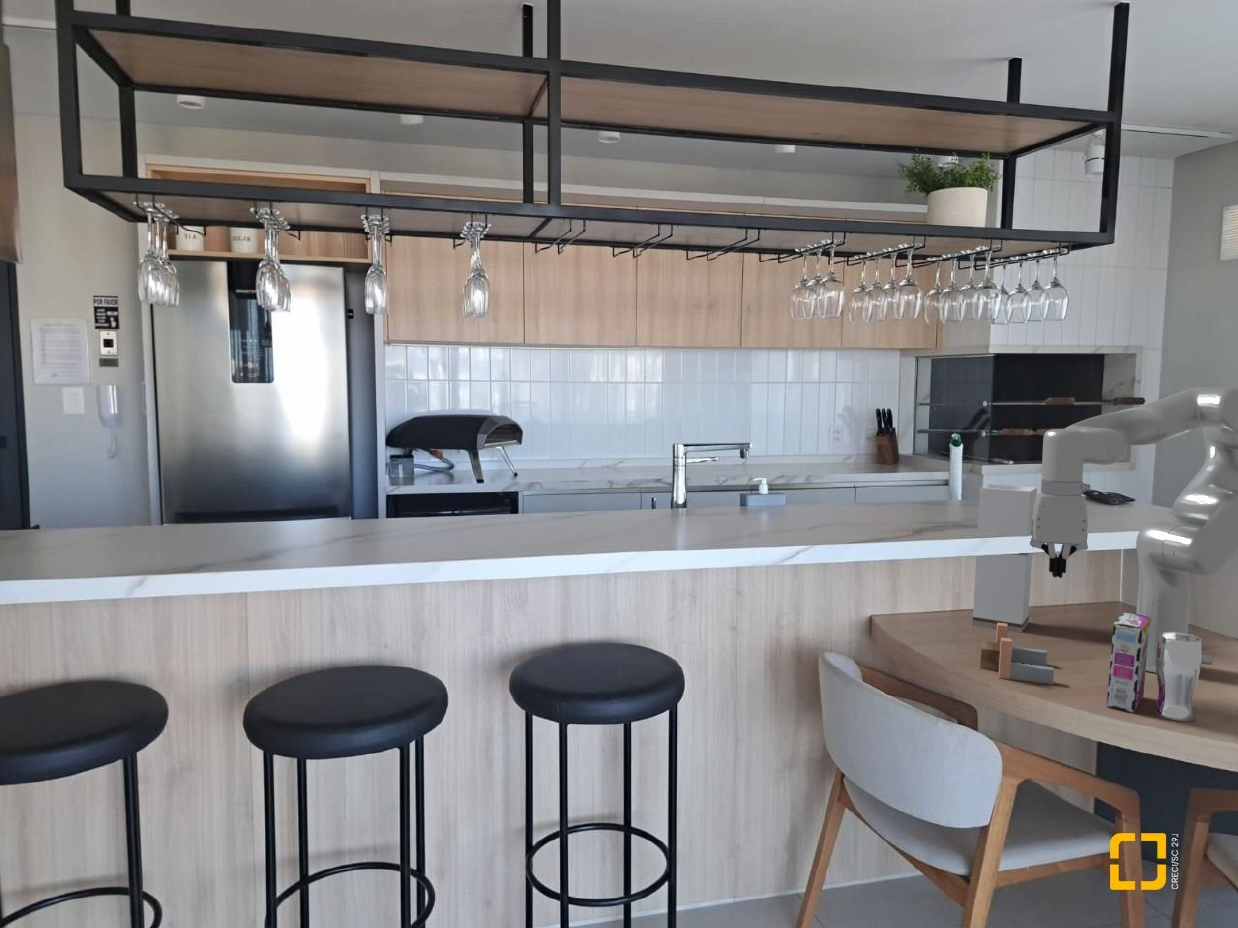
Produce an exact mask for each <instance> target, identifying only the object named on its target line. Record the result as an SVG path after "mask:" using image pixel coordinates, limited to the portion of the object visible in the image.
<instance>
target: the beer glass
mask: <svg viewBox="0 0 1238 928" xmlns="http://www.w3.org/2000/svg"><path fill="white" fill-rule="evenodd" d="M1202 641H1203V639H1201V638H1200V637H1199V636H1197V635H1194V634H1192V633H1191V634H1190V633H1187V634H1186V633H1181V632H1171V631H1165V632H1160V633H1159V638H1158V643H1157V649H1156V673H1155V674H1156V679H1157V687H1158V688H1157V690H1158V693H1157V700H1156V703H1155V706H1154V709H1153V710H1154V713H1155V714H1156V715H1157V716H1159V717H1160V718H1164V719H1165V720H1169V721H1174V722H1180V723H1181V722H1184V723H1187V722H1188V723H1189V722H1192V721H1194V718H1195V715H1194V709H1193V708H1194V707H1193V698H1194V693H1195V690H1196V687H1197V684H1198V681H1199V677H1200V672H1201V667H1202V664H1201V657H1202V655H1203V653H1202V651H1203V650H1202Z"/></svg>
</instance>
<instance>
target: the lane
mask: <svg viewBox="0 0 1238 928" xmlns="http://www.w3.org/2000/svg"><path fill="white" fill-rule="evenodd" d="M1008 631H1009V630H1008V625H1007V624H1006V623H997V629H996V636H995V637H996V639H995V643H1000V659H999V671H998V679H1003V678H1004V679H1005V680H1014V681H1015V680H1016V681H1023V682H1031V683H1039V684H1046V683H1048V684H1047V685H1054V677H1055V676H1054V673H1055V669H1054V667H1053V666H1047V661H1048V660H1047V659H1048V658H1047V657H1048V653H1047V650H1046V649H1037V648H1036V649H1035V648H1026V647H1020V646H1019V647H1018V646H1013V640H1012V638H1008ZM1011 653H1012V662H1011ZM1014 662H1016V663H1014ZM1022 663H1024V664H1022ZM1031 664H1032V665H1031Z"/></svg>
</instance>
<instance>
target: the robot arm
mask: <svg viewBox="0 0 1238 928" xmlns="http://www.w3.org/2000/svg"><path fill="white" fill-rule="evenodd" d="M1197 429H1202V435H1203V440H1204V446H1205V460H1204V463H1203V465H1202V467H1201V468H1200V469H1199V471H1198V472H1197V473H1196V475H1195V476H1194V477H1193V478H1192V479H1191V480H1190V482H1189V483H1188V484H1187V485H1186V487H1184V489H1183V490H1182V491H1181V492H1180V494H1179V495H1178V496H1177V497H1176V499H1175V501H1174V503H1173V506H1172V509H1171V510H1172V515H1173V517H1174V518H1175V520H1176V521H1177V522H1179V523H1177V522H1171V521H1163V520H1161V521H1160V520H1159V521H1154V522H1150V523H1148V524H1145V526H1143V527H1142V528H1141V529H1140V530H1139V531H1138V534H1137V536H1136V542H1135V543H1136V545H1135V547H1136V548H1135V549H1136V556H1137V563H1138V588H1137V589H1138V590H1137V600H1136V601H1137V603H1136V613H1135V614H1138V615H1143V616H1148V617H1151V619H1150V629H1149V641H1148V651H1147V660H1146V672H1150V673H1153V674H1154V673H1155V674H1157V673H1156V649H1157V643H1158V638H1159V633H1160V632H1165V631H1171V632H1181V633H1186V634H1189V633H1188V631H1189V620H1190V619H1189V617H1190V608H1191V607H1190V606H1191V599H1192V598H1191V596H1192V595H1191V594H1192V586H1191V582H1190V578H1189V576H1188V573H1189V574H1192V575H1196V576H1197V575H1198V576H1202V577H1204V576H1206V577H1207V576H1213V575H1216V574H1217V573H1219V572H1220V571H1221V570H1223V569H1224V568H1225V567H1226V566H1227V565H1228V564H1229V562H1231V560H1232V559H1233V558H1234V557H1235V556H1236V554H1237V553H1238V388H1236V387H1230V386H1227V387H1225V386H1224V387H1221V386H1215V387H1214V386H1212V387H1211V386H1196V387H1191V388H1187V389H1185V390H1181V391H1179V392H1177V393H1172V394H1171V395H1168V396H1165V397H1163V398H1160V399H1157V400H1154V401H1152V402H1149V403H1147V404H1144V405H1143V404H1142V405H1140V406H1135V407H1130V408H1125V409H1122V410H1117V411H1115V412H1108V413H1105V414H1099V415H1096V416H1092V417H1089V418H1086V419H1083V420H1081V421H1078V422H1075V423H1073V424H1070V425H1069V426H1067V427H1065V428H1052V429H1048V430H1046V431H1045V432H1044V434H1043V440H1042V441H1043V443H1042V457H1041V458H1042V459H1041V460H1042V461H1041V462H1042V463H1041V481H1040V493H1037V495H1036V498H1035V502H1034V508H1033V516H1032V526H1031V535H1032V538H1031V541H1030V545H1031V546H1032V547H1033V548H1037V549H1038V550H1039V549H1040V550H1042V551H1043V552H1044V553H1045V554H1046V555H1048V557H1049V559H1048V560H1049V561H1048V572H1049V573H1051V575H1052V577H1053V578H1057V577H1058V578H1061V579H1062V578H1063V574H1067V573H1066V572H1067V559H1069V557H1071V556H1072V555H1073V554H1075V552H1081V551H1086V550H1088V549H1089V545H1088V542H1087V541H1088V536H1089V535H1088V534H1089V533H1088V531H1089V530H1088V529H1089V527H1088V522H1089V520H1088V508H1087V505H1088V504H1087V501H1086V496H1085V495H1083V493H1084V492H1090V491H1091V484H1087V483H1085V482H1084V481H1083V475H1084V465H1085V464H1092V465H1100V466H1106V465H1113V464H1116V463H1118V462H1120V461H1121V460H1122V459H1124V458H1125V456H1126V455H1127V452H1128V449H1129V447H1128V446H1147V445H1156V444H1160V443H1164V442H1166V441H1168V440H1172V439H1174V438H1176V437H1179V436H1181V435H1184V434H1187V433H1190V432H1192V431H1195V430H1197ZM1055 544H1057V545H1061V549H1060V553H1059V554H1058V555H1057V553H1056V547H1055ZM1213 662H1214V661H1213V656H1212V655H1206V654H1202V657H1201V665H1207V666H1208V665H1209V666H1212V665H1213Z"/></svg>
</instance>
